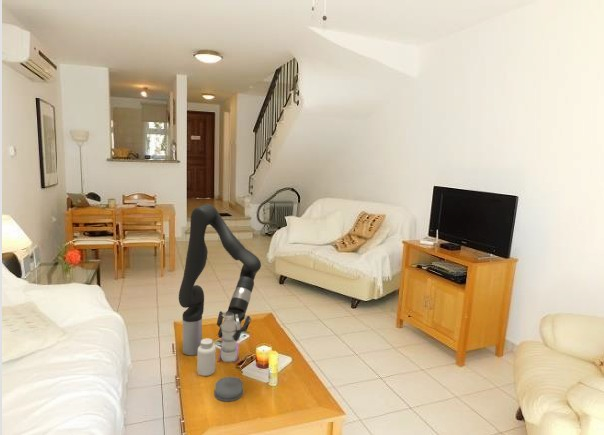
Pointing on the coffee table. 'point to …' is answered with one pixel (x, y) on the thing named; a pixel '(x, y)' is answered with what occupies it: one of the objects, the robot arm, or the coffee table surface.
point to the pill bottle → (206, 357)
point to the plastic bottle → (229, 338)
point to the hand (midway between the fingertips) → (227, 338)
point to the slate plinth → (228, 389)
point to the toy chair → (237, 352)
